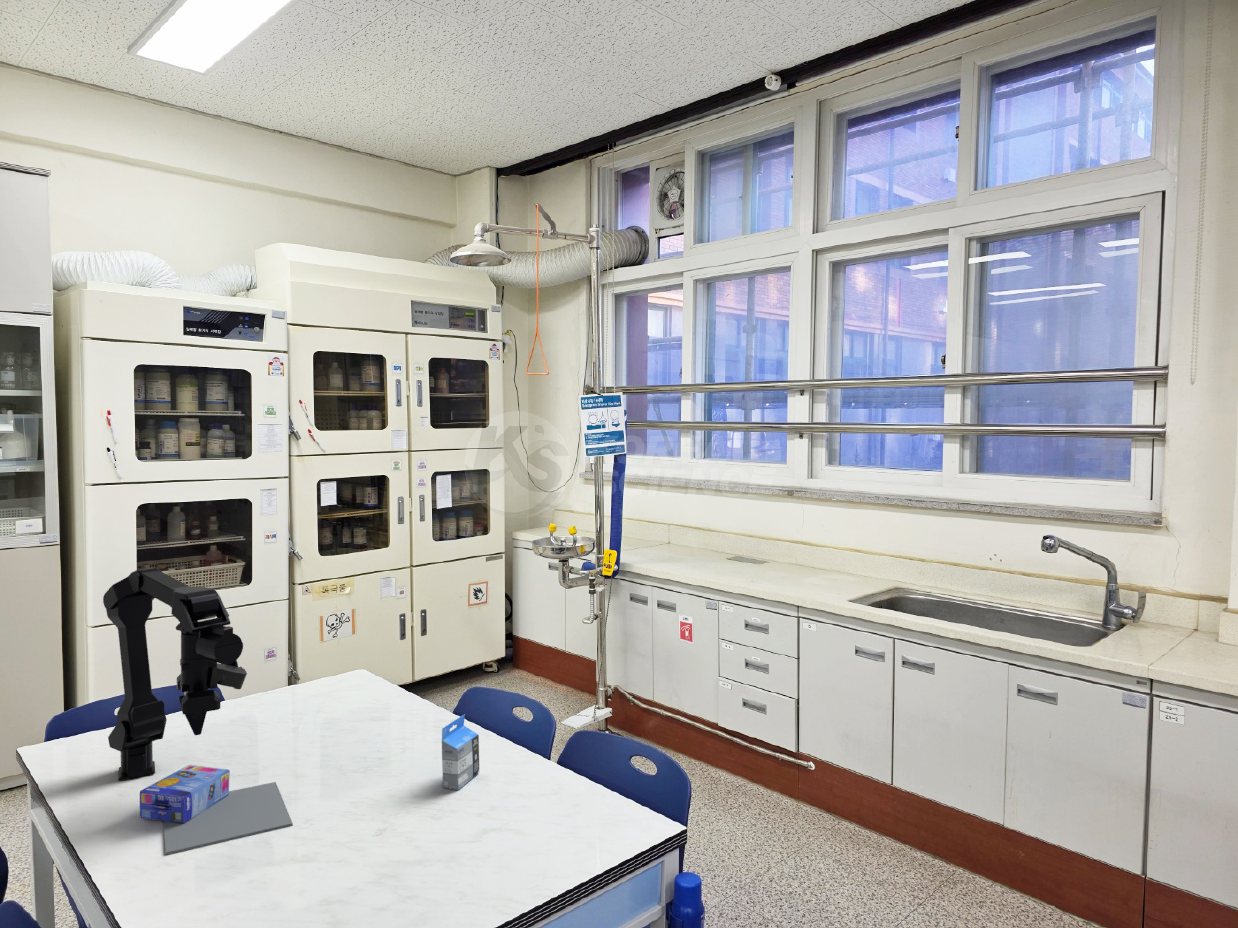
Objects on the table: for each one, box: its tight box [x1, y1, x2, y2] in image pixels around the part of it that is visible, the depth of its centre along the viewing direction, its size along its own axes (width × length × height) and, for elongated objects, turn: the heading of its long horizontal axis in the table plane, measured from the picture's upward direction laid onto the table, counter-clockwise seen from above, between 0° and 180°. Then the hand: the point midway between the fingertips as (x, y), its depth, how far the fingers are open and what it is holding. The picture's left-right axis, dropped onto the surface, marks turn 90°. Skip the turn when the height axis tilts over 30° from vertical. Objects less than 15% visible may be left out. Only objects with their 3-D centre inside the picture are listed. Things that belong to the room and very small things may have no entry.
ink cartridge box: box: [139, 764, 231, 824], centre depth 148 cm, size 10×6×14 cm
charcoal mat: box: [162, 781, 293, 856], centre depth 147 cm, size 20×20×1 cm
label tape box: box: [441, 713, 480, 791], centre depth 163 cm, size 9×4×12 cm, turn 161°
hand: (197, 734), depth 153 cm, fingers closed
